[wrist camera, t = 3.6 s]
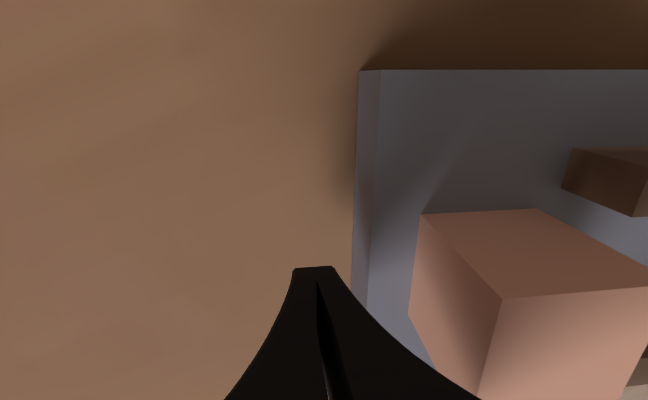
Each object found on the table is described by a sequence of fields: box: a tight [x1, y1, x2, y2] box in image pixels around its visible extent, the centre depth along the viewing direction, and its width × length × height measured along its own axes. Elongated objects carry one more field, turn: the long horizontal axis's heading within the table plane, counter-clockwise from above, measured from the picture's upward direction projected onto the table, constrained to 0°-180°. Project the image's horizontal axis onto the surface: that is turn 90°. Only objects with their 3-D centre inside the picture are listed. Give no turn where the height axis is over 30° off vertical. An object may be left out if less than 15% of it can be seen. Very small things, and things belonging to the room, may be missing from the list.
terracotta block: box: [408, 208, 648, 400], centre depth 10 cm, size 4×4×4 cm
